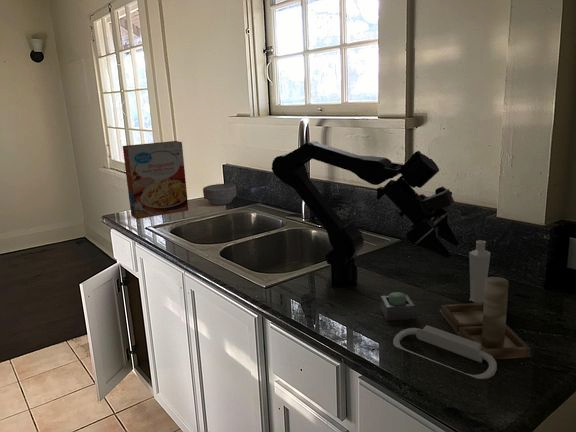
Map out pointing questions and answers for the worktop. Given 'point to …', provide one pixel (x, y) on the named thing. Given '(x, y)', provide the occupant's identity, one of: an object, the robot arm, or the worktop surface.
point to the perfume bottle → (478, 271)
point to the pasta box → (155, 178)
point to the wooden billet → (494, 312)
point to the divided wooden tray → (470, 327)
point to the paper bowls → (219, 193)
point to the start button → (397, 298)
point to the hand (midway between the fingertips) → (454, 250)
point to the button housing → (397, 309)
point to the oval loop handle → (450, 346)
